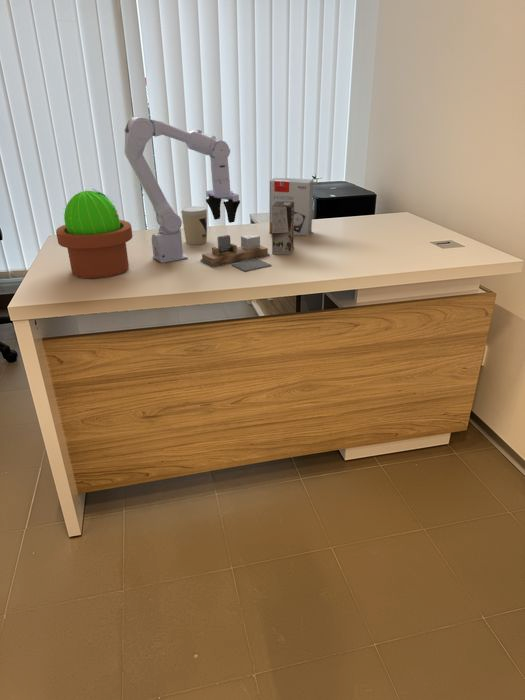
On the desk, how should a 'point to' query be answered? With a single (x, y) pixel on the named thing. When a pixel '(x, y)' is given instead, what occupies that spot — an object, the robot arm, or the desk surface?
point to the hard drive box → (300, 195)
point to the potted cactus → (94, 236)
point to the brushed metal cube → (250, 242)
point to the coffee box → (282, 227)
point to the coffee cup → (195, 224)
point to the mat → (251, 265)
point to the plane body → (232, 255)
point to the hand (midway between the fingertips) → (224, 220)
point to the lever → (224, 244)
